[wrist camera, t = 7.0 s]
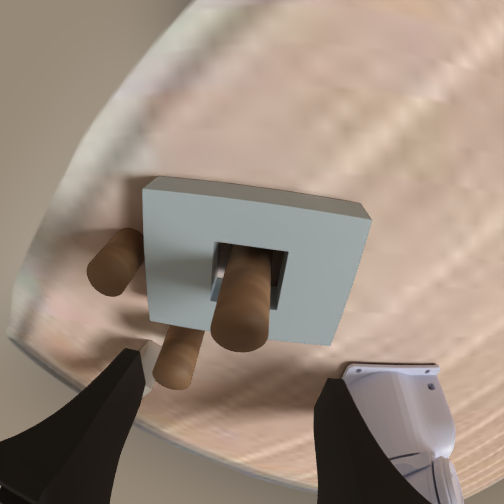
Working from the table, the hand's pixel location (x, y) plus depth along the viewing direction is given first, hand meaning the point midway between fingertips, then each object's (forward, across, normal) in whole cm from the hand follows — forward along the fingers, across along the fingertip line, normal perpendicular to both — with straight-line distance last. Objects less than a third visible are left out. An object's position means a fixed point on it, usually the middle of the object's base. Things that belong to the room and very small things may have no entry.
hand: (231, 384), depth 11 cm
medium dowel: (+10, +4, +7) cm, 13 cm away
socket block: (+10, 0, 0) cm, 10 cm away
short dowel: (+10, +8, 0) cm, 13 cm away
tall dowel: (+10, 0, 0) cm, 10 cm away
